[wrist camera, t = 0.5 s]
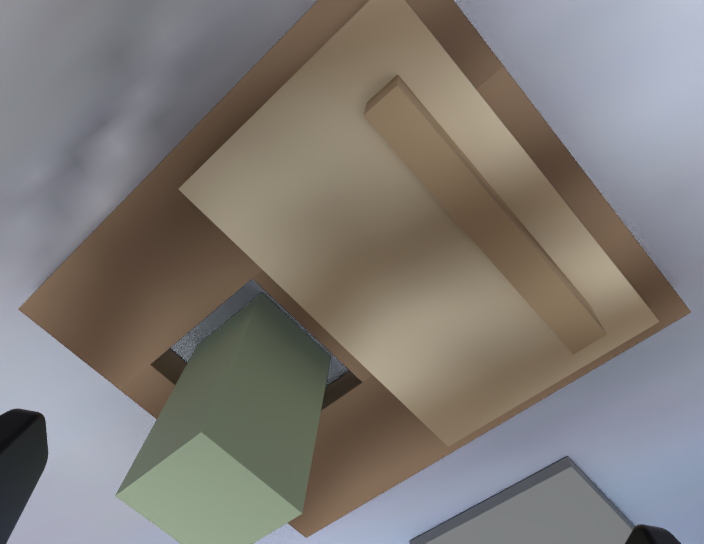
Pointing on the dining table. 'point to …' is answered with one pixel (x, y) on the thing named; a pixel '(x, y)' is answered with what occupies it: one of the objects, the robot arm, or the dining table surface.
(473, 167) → the sliding lid
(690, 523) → the dining table surface
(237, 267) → the well board
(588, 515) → the rubber mat
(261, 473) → the sage block
